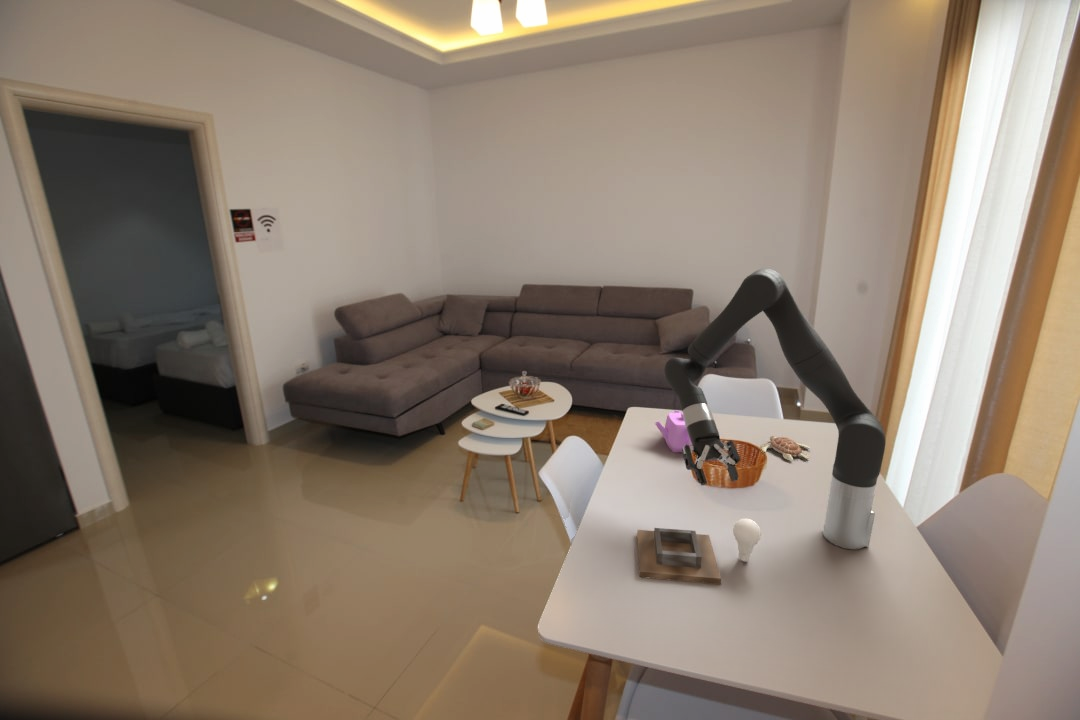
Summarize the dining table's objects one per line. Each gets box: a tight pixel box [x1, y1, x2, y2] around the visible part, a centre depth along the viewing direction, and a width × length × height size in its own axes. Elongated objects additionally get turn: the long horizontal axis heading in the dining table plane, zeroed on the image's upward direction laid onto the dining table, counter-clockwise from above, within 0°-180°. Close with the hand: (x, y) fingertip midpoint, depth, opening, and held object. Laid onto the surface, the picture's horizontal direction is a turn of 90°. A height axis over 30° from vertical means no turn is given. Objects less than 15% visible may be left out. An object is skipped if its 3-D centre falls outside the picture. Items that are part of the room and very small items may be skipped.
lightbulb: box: [732, 518, 762, 562], centre depth 115 cm, size 6×6×11 cm
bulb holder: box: [636, 527, 722, 585], centre depth 117 cm, size 18×16×4 cm
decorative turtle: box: [759, 435, 811, 461], centre depth 170 cm, size 18×17×5 cm
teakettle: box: [654, 409, 692, 453], centre depth 176 cm, size 17×17×12 cm
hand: (719, 482), depth 123 cm, fingers open, 8 cm apart
